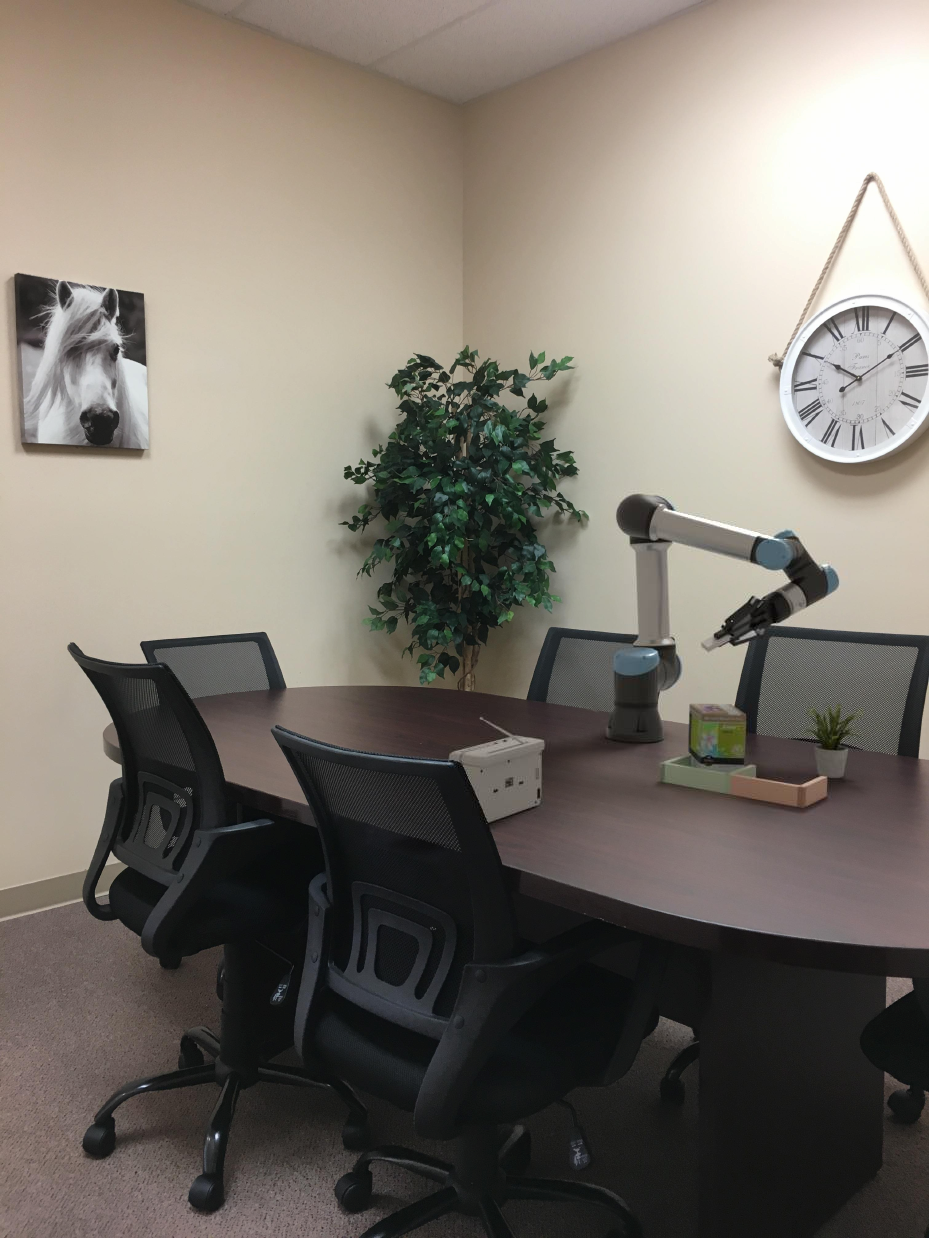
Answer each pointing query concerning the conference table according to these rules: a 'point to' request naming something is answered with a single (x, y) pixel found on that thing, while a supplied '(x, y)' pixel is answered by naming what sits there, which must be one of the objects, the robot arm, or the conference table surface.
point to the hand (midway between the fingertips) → (704, 647)
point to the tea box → (717, 737)
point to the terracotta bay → (779, 790)
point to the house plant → (831, 743)
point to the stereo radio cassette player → (504, 773)
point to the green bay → (699, 775)
